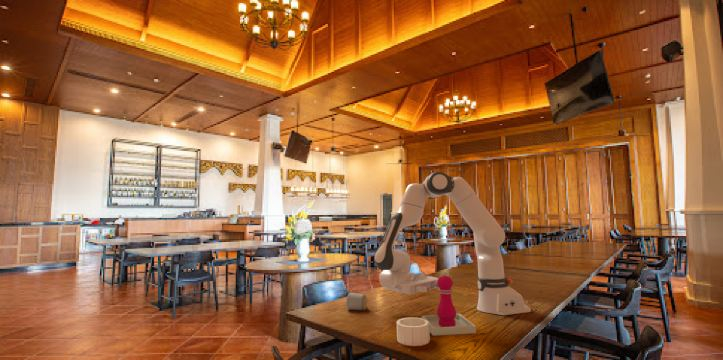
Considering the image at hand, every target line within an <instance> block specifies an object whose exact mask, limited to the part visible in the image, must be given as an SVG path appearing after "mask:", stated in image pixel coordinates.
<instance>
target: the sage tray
mask: <svg viewBox="0 0 723 360" xmlns="http://www.w3.org/2000/svg"><path fill="white" fill-rule="evenodd" d="M421 318H422V319H425V320H427V321H428V322H429V332H430V335H432V336H433V337H434V336H451V335H466V334H468V335H470V334H477V326H476V325H475V324H474V323H473V322H471V321H470V320H469V319H467V318H466V317H465V316H464V315H462V314H460V313H456V317H455V318H454V320H455V324H456V325H455V326H454V327H441V326H440V325H439V319H440V318H439V317H438V315H437V314H431V315H421Z"/></svg>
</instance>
